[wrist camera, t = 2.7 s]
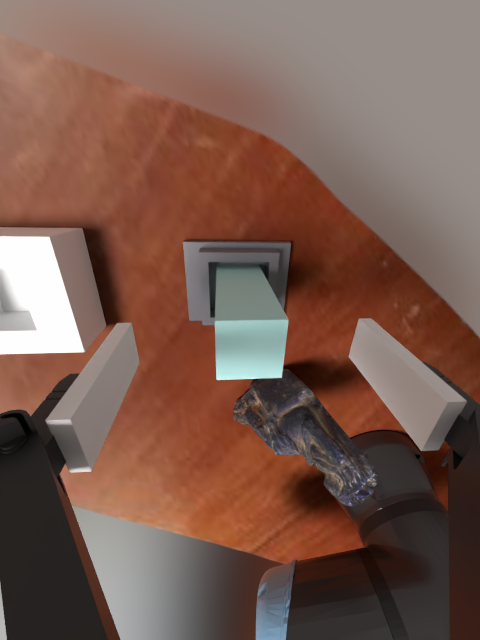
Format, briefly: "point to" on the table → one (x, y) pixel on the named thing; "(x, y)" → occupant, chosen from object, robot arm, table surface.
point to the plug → (248, 324)
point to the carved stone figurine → (306, 434)
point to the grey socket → (210, 253)
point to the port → (47, 291)
